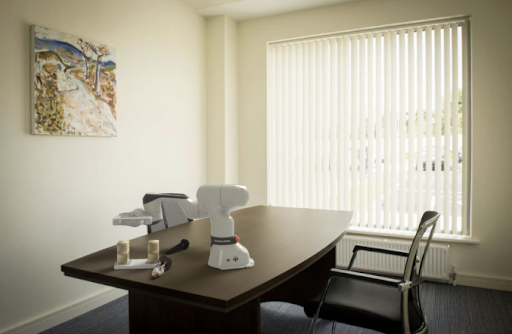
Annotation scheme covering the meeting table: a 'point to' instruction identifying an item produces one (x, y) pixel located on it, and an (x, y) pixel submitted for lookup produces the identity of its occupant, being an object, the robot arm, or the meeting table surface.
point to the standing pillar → (153, 251)
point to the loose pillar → (122, 252)
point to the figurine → (161, 266)
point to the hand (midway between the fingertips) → (129, 223)
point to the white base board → (135, 264)
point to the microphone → (178, 246)
